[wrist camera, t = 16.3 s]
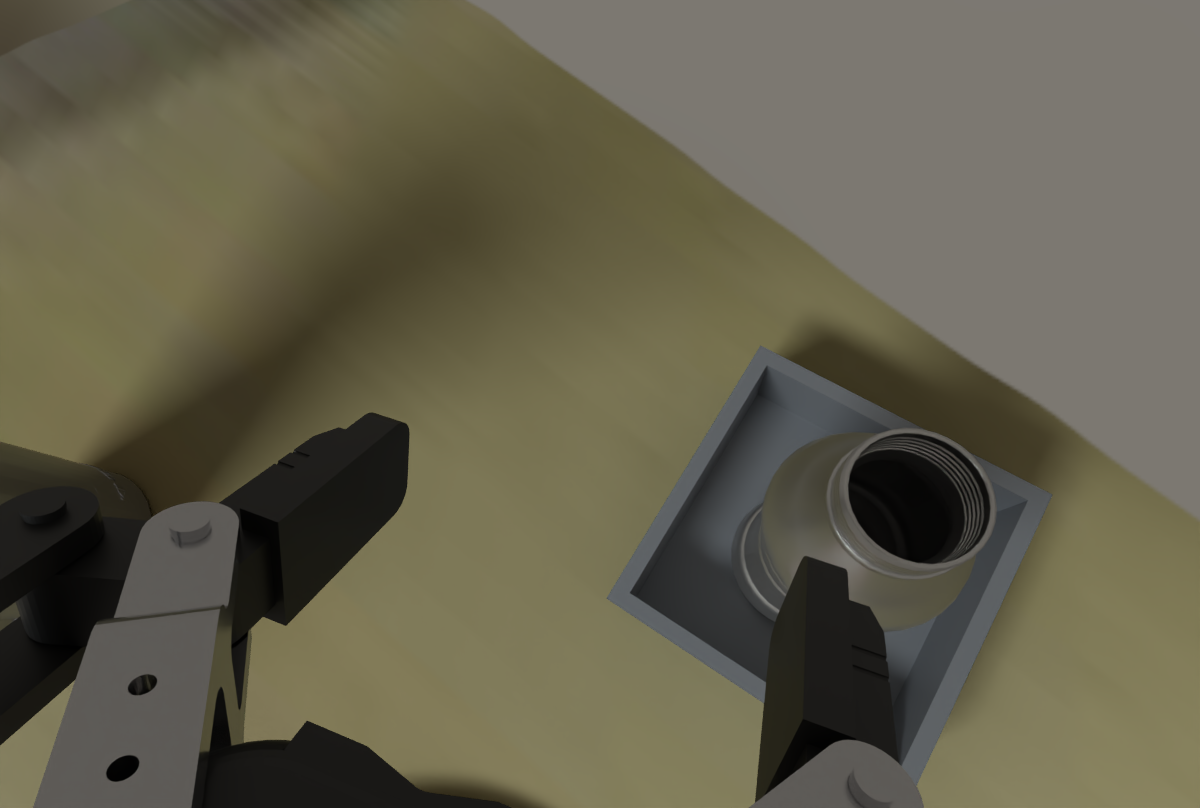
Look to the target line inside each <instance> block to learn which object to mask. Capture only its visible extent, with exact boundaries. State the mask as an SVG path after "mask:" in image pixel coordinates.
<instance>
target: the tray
mask: <svg viewBox="0 0 1200 808" xmlns="http://www.w3.org/2000/svg"><path fill="white" fill-rule="evenodd" d="M899 428H918V429H923V428H921V427H919V426H917V425H915V424H913V423H911V422H909V421H907V420H905V419H903V418H901V417H899V416H897V415H895V414H894V413H892V412H890V411H888V410H886V409H884V408H882V407H880V406H878V405H876V404H874V403H872V402H870V401H868V400H866V399H864V398H862V397H860V396H858V395H856V394H854V393H852V392H850V391H848V390H846V389H845V388H843V387H841V386H839V385H837V384H835V383H833V382H831V381H829V380H827V379H825V378H823V377H821V376H819V375H817V374H815V373H813V372H811V371H809V370H807V369H805V368H803V367H801V366H799V365H798V364H796V363H794V362H792V361H790V360H788V359H786V358H784V357H782V356H780V355H778V354H776V353H774V352H772V351H770V350H768V349H766V348H764V347H762V346H760V347H759V349H758V351H757V352H756V354H755V356H754V357H753V359H752V360H751V362H750V364H749V365H748V367H747V369H746V370H745V372H744V374H743V375H742V377H741V379H740V380H739V382H738V383H737V385H736V387H735V388H734V390H733V392H732V393H731V395H730V397H729V398H728V400H727V402H726V403H725V405H724V406H723V408H722V410H721V411H720V413H719V415H718V416H717V418H716V420H715V421H714V423H713V424H712V426H711V428H710V429H709V431H708V433H707V434H706V436H705V438H704V439H703V441H702V443H701V444H700V446H699V447H698V449H697V451H696V452H695V454H694V456H693V457H692V459H691V461H690V462H689V464H688V466H687V467H686V469H685V470H684V472H683V474H682V475H681V477H680V479H679V480H678V482H677V484H676V485H675V487H674V488H673V490H672V492H671V493H670V495H669V497H668V498H667V500H666V502H665V503H664V505H663V507H662V508H661V510H660V511H659V513H658V515H657V516H656V518H655V520H654V521H653V523H652V525H651V526H650V528H649V530H648V531H647V533H646V534H645V536H644V538H643V539H642V541H641V543H640V544H639V546H638V548H637V549H636V551H635V552H634V554H633V556H632V557H631V559H630V561H629V562H628V564H627V566H626V567H625V569H624V571H623V572H622V574H621V575H620V577H619V579H618V580H617V582H616V584H615V585H614V587H613V589H612V590H611V592H610V594H609V595H608V597H607V599H608V600H610V601H611V602H613V603H614V604H616V605H617V606H619V607H620V608H622V609H623V610H625V611H626V612H628V613H629V614H631V615H632V616H634V617H635V618H637V619H638V620H640V621H641V622H643V623H644V624H646V625H647V626H649V627H650V628H652V629H653V630H655V631H656V632H658V633H659V634H661V635H662V636H664V637H665V638H667V639H668V640H670V641H671V642H673V643H674V644H676V645H677V646H679V647H680V648H682V649H683V650H685V651H686V652H688V653H689V654H691V655H692V656H694V657H695V658H697V659H698V660H700V661H701V662H703V663H704V664H706V665H707V666H709V667H710V668H712V669H713V670H715V671H716V672H718V673H719V674H721V675H722V676H724V677H725V678H727V679H728V680H730V681H731V682H733V683H734V684H736V685H737V686H739V687H740V688H742V689H743V690H745V691H746V692H748V693H749V694H751V695H752V696H754V697H755V698H757V699H758V700H760V701H761V702H763V703H764V700H765V689H766V678H767V667H768V656H769V646H770V641H771V636H772V632H773V628H774V624H775V622H774V621H772V620H771V619H769V618H767V617H766V616H764V615H763V614H762V613H760V612H759V611H758V610H757V609H756V608H755V607H754V606H753V605H752V604H751V603H750V602H749V601H748V600H747V599H746V597H745V595H744V594H743V592H742V591H741V589H740V588H739V585H738V583H737V580H736V578H735V575H734V572H733V567H732V562H731V548H732V543H733V538H734V535H735V533H736V530H737V528H738V526H739V524H740V523H741V521H742V520H743V518H744V517H745V516H746V514H748V513H749V512H750V511H751V510H752V509H753V508H754V507H755V506H757V505H759V504H761V503H763V502H764V497H765V495H766V491H767V489H768V487H769V484H770V482H771V480H772V477H773V475H774V474H775V473H776V471H777V470H778V468H779V467H780V466H781V464H782V463H783V462H784V461H785V460H786V459H787V458H788V457H789V456H790V455H791V454H792V453H794V452H795V451H796V450H797V449H799V448H800V447H802V446H804V445H806V444H808V443H809V442H811V441H813V440H816V439H819V438H822V437H825V436H828V435H833V434H841V433H849V432H860V433H877V434H879V433H882V432H885V431H888V430H891V429H899ZM924 430H925V429H924ZM969 453H970V452H969ZM971 454H972V453H971ZM972 455H973V456H974V457H975V459H976V460H977V461H978V462H979V463H980V465H981V466H982V467H983V468H984V470H985V472H986V474H987V475H988V477H989V479H990V481H991V484H992V487H993V490H994V493H995V497H996V505H997V513H996V523H995V526H994V529H993V532H992V535H991V537H990V538H989V540H988V541H987V543H986V544H985V546H984V547H983V548H982V549H981V550H980V551H979V552H978V553H977V554H976V558H975V562H974V565H973V568H972V571H971V574H970V577H969V579H968V580H967V582H966V584H965V585H964V587H963V588H962V590H961V591H960V593H959V595H958V596H957V598H956V599H955V601H954V602H953V603H951V604H950V605H949V606H948V607H947V608H946V609H945V610H944V611H943V612H942V613H941V614H939V615H938V616H936V617H934V618H933V619H931V620H929V621H927V622H926V623H924V624H921V625H918V626H915V627H912V628H909V629H906V630H900V631H890V632H884V636H885V644H886V653H887V658H886V661H887V662H888V671H889V679H888V682H889V683H890V689H891V698H892V706H893V715H894V724H895V733H896V742H897V751H898V759H899V764H900V765H901V766H902V767H903V769H904V770H905V771H906V772H907V773H908V775H909V776H910V777H911V779H912V780H913V782H914V783H915V785H917V783H918V781H919V779H920V777H921V774H922V772H923V770H924V768H925V766H926V764H927V762H928V760H929V757H930V755H931V753H932V751H933V749H934V747H935V745H936V742H937V740H938V738H939V736H940V734H941V732H942V730H943V728H944V725H945V723H946V721H947V719H948V717H949V715H950V713H951V710H952V708H953V706H954V704H955V702H956V700H957V698H958V696H959V693H960V691H961V689H962V687H963V685H964V683H965V681H966V678H967V676H968V674H969V672H970V670H971V668H972V666H973V663H974V661H975V659H976V657H977V655H978V653H979V651H980V649H981V646H982V644H983V642H984V640H985V638H986V636H987V634H988V631H989V629H990V627H991V625H992V623H993V621H994V619H995V617H996V614H997V612H998V610H999V608H1000V606H1001V604H1002V602H1003V599H1004V597H1005V595H1006V593H1007V591H1008V589H1009V587H1010V585H1011V582H1012V580H1013V578H1014V576H1015V574H1016V572H1017V570H1018V567H1019V565H1020V563H1021V561H1022V559H1023V557H1024V555H1025V553H1026V550H1027V548H1028V546H1029V544H1030V542H1031V540H1032V538H1033V535H1034V533H1035V531H1036V529H1037V527H1038V525H1039V523H1040V520H1041V518H1042V516H1043V514H1044V512H1045V510H1046V508H1047V506H1048V503H1049V501H1050V499H1051V497H1052V494H1050V493H1048V492H1046V491H1044V490H1042V489H1040V488H1038V487H1036V486H1035V485H1033V484H1031V483H1029V482H1027V481H1025V480H1023V479H1021V478H1019V477H1017V476H1015V475H1013V474H1011V473H1009V472H1007V471H1005V470H1003V469H1001V468H999V467H997V466H995V465H993V464H991V463H989V462H988V461H986V460H984V459H982V458H980V457H978V456H976V455H974V454H972Z"/></svg>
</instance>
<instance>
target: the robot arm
mask: <svg viewBox="0 0 1200 808" xmlns="http://www.w3.org/2000/svg"><path fill="white" fill-rule="evenodd" d="M408 455H409V428H408V426H407V424H406V423H403V422H400V421H397V420H394V419H391V418H388V417H385V416H382V415H379V414H376V413H367V414H366V415H364V416H363V417H362V418H360V419H359V420H358V421H356V422H355V423H354V424H352V425H351V426H349V427H348V428H347V429H342V428H336V429H333V430H330V431H327V432H324V433H321V434H319V435H316V436H313V437H312V438H310V439H309V440H307V441H306V442H305V443H303V444H302V445H300V446H299V447H298V448H296V449H295V450H294V452H293V453H289V454H288V455H286V456H285V457H283V458H282V459H281V460H279V461H278V464H277V465H276V464H273V465H272V466H271V467H269V468H268V469H266V470H265V471H264V472H262V473H261V474H259V475H258V476H257V477H255V478H254V479H252V480H251V481H249V482H248V483H247V484H245V485H244V486H242V487H241V488H240V489H238V490H237V491H235V492H234V493H233V494H231V495H230V496H228V497H227V498H225V499H224V500H223V501H221V502H220V503H214V502H205V501H203V502H189V503H184V504H179V505H176V506H173V507H170V508H168V509H165V510H163V511H161V512H159V513H158V514H156V515H155V516H153V517H152V518H151V513H150V510H149V506H148V502H147V500H146V498H145V497H144V495H143V493H142V491H141V490H140V489H139V488H138V487H137V486H136V485H135V484H134V483H133V482H132V481H131V480H129V479H127V478H126V477H124V476H122V475H119V474H116V473H112V472H109V471H105V470H103V469H100V468H97V467H94V466H90V465H87V464H81V463H76V462H73V461H69V460H65V459H62V458H59V457H55V456H51V455H48V454H44V453H40V452H37V451H33V450H29V449H26V448H22V447H18V446H14V445H11V444H7V443H3V442H0V745H1V744H2V743H3V742H5V741H6V740H7V739H8V738H9V737H10V736H11V735H13V734H14V733H15V732H16V731H17V730H18V729H19V728H21V727H22V726H23V725H24V724H25V723H26V722H27V721H29V720H30V719H31V718H32V717H33V716H34V715H35V714H37V713H38V712H39V711H40V710H41V709H42V708H43V707H45V706H46V705H47V704H48V703H49V702H50V701H51V700H53V699H54V698H55V697H56V696H57V695H58V694H59V693H61V692H62V691H63V690H64V689H65V688H66V687H67V686H69V685H70V684H71V683H72V682H73V681H74V680H75V679H76V680H75V683H74V686H73V689H72V692H71V695H70V698H69V701H68V704H67V707H66V710H65V713H64V716H63V719H62V722H61V725H60V728H59V731H58V734H57V737H56V740H55V743H54V746H53V749H52V752H51V755H50V758H49V761H48V764H47V767H46V770H45V773H44V776H43V779H42V782H41V785H40V788H39V791H38V794H37V797H36V800H35V803H34V806H33V808H511V807H509V806H506V805H504V804H502V803H499V802H494V801H487V800H480V799H472V798H465V797H457V796H450V795H443V794H435V793H428V792H424V791H422V790H419V789H418V788H417V787H415V786H414V785H413V784H412V783H410V782H409V781H408V780H407V779H406V778H404V777H403V776H402V775H401V774H400V773H398V772H397V771H396V770H395V769H394V768H392V767H391V766H390V765H389V764H388V763H386V762H385V761H384V760H383V759H382V758H380V757H379V756H378V755H377V754H376V753H375V752H373V751H372V750H371V749H370V748H369V747H367V746H365V745H363V744H361V743H358V742H356V741H354V740H351V739H349V738H347V737H344V736H342V735H340V734H337V733H335V732H332V731H330V730H328V729H325V728H323V727H321V726H318V725H316V724H314V723H311V722H309V721H306V723H305V724H304V725H303V726H302V728H301V729H300V730H299V731H298V733H297V734H296V735H295V736H294V738H293V739H292V740H291V741H289V740H262V741H252V742H246V743H244V721H245V709H246V698H247V687H248V675H249V664H250V653H251V641H252V634H251V628H252V627H253V626H254V625H255V624H256V623H257V622H258V621H259V620H260V619H261V618H262V617H265V618H268V619H270V620H273V621H275V622H278V623H280V624H283V625H285V626H286V625H287V624H288V623H289V622H290V621H291V620H292V619H293V618H294V617H295V616H296V615H297V614H298V613H299V612H300V611H301V610H302V609H303V608H304V607H305V606H306V605H307V604H308V603H309V602H310V601H311V600H312V599H313V598H314V597H315V596H316V595H317V594H318V593H319V591H320V590H321V589H322V588H323V587H324V586H325V585H326V584H327V583H328V582H329V581H330V580H331V579H332V578H333V577H334V576H335V575H336V574H337V573H338V572H339V571H340V570H341V569H342V568H343V567H344V566H345V565H346V564H347V563H348V562H349V561H350V560H351V559H352V558H353V557H354V556H355V555H356V554H357V553H358V551H359V550H360V549H361V548H362V547H363V546H364V545H365V544H366V543H367V542H368V541H369V540H370V539H371V538H372V537H373V536H374V535H375V534H376V533H377V532H378V531H379V530H380V529H381V528H382V527H383V526H384V525H385V524H386V523H387V522H388V521H389V520H390V519H391V518H392V517H393V516H394V514H395V513H396V512H397V511H398V509H399V507H400V506H401V504H402V502H403V499H404V496H405V493H406V489H407V478H408ZM886 658H887V653H886V644H885V636H884V631H883V629H882V628H881V626H880V624H879V622H878V621H877V619H876V617H875V615H874V613H873V612H872V610H871V608H870V607H869V606H866V605H863V604H860V603H857V602H854V601H851V600H849V588H848V572H847V570H846V569H845V568H842V567H839V566H836V565H833V564H830V563H827V562H824V561H821V560H818V559H815V558H812V557H809V556H804V557H803V558H802V560H801V562H800V564H799V566H798V569H797V571H796V573H795V576H794V578H793V580H792V583H791V585H790V587H789V590H788V592H787V594H786V597H785V599H784V601H783V604H782V606H781V608H780V611H779V613H778V616H777V618H776V621H775V624H774V628H773V632H772V636H771V641H770V646H769V656H768V667H767V678H766V689H765V700H764V711H763V722H762V733H761V744H760V755H759V765H758V776H757V787H756V798H755V803H754V804H753V805H752V806H750V807H749V808H924V806H923V802H922V798H921V796H920V793H919V791H918V789H917V787H916V785H915V783H914V782H913V780H912V779H911V777H910V776H909V775H908V773H907V772H906V771H905V770H904V769H903V767H902V766H901V765H900V764H899V759H898V751H897V742H896V733H895V724H894V715H893V706H892V698H891V689H890V683H889V682H888V679H889V671H888V662H887V661H886Z"/></svg>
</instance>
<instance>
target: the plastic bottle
mask: <svg viewBox="0 0 1200 808" xmlns="http://www.w3.org/2000/svg"><path fill="white" fill-rule="evenodd" d="M996 513H997V505H996V497H995V493H994V490H993V487H992V484H991V481H990V479H989V477H988V475H987V474H986V472H985V470H984V468H983V467H982V466H981V465H980V463H979V462H978V461H977V460H976V459H975V457H974V456H973V455H972V454H971V453H969V452H968V451H967V450H966V449H965V448H964V447H962V446H961V445H959V444H958V443H956V442H955V441H953V440H951V439H950V438H948V437H945V436H943V435H941V434H938V433H936V432H932V431H928V430H924V429H918V428H899V429H891V430H888V431H885V432H882V433H879V434H877V433H860V432H849V433H841V434H833V435H828V436H825V437H822V438H819V439H816V440H813V441H811V442H809V443H808V444H806V445H804V446H802V447H800V448H799V449H797V450H796V451H795V452H794V453H792V454H791V455H790V456H789V457H788V458H787V459H786V460H785V461H784V462H783V463H782V464H781V466H780V467H779V468H778V470H777V471H776V473H775V474H774V475H773V477H772V480H771V482H770V484H769V487H768V489H767V491H766V495H765V497H764V502H763V503H761V504H759V505H757V506H755V507H754V508H753V509H752V510H751V511H750V512H749V513H748V514H746V516H745V517H744V518H743V520H742V521H741V523H740V524H739V526H738V528H737V530H736V533H735V535H734V538H733V543H732V548H731V562H732V567H733V572H734V575H735V578H736V580H737V583H738V585H739V588H740V589H741V591H742V592H743V594H744V595H745V597H746V599H747V600H748V601H749V602H750V603H751V604H752V605H753V606H754V607H755V608H756V609H757V610H758V611H759V612H760V613H762V614H763V615H764V616H766V617H767V618H769V619H771V620H772V621H774V622H775V621H776V618H777V616H778V613H779V611H780V608H781V606H782V604H783V601H784V599H785V597H786V594H787V592H788V590H789V587H790V585H791V583H792V580H793V578H794V576H795V573H796V571H797V569H798V566H799V564H800V562H801V560H802V558H803V557H804V556H809V557H812V558H815V559H818V560H821V561H824V562H827V563H830V564H833V565H836V566H839V567H842V568H845V569H846V570H847V572H848V588H849V600H851V601H854V602H857V603H860V604H863V605H866V606H869V607H870V608H871V610H872V612H873V613H874V615H875V617H876V619H877V621H878V622H879V624H880V626H881V628H882V629H883V631H884V632H890V631H900V630H906V629H909V628H912V627H915V626H918V625H921V624H924V623H926V622H927V621H929V620H931V619H933V618H934V617H936V616H938V615H939V614H941V613H942V612H943V611H944V610H945V609H946V608H947V607H948V606H949V605H950V604H951V603H953V602H954V601H955V599H956V598H957V596H958V595H959V593H960V591H961V590H962V588H963V587H964V585H965V584H966V582H967V580H968V579H969V577H970V574H971V571H972V568H973V565H974V562H975V558H976V554H977V553H978V552H979V551H980V550H981V549H982V548H983V547H984V546H985V544H986V543H987V541H988V540H989V538H990V537H991V535H992V532H993V529H994V526H995V523H996Z"/></svg>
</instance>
